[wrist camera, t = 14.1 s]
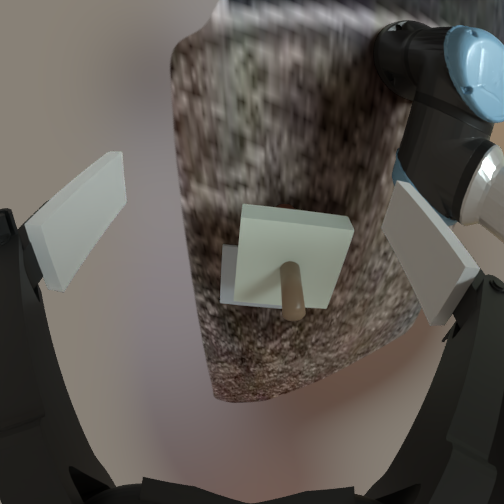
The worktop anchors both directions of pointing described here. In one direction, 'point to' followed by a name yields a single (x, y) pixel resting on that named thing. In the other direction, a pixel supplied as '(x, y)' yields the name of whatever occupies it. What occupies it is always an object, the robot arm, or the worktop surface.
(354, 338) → the worktop surface
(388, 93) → the worktop surface
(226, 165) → the worktop surface
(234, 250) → the mat
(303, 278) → the white knobbed square piece
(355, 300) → the worktop surface
